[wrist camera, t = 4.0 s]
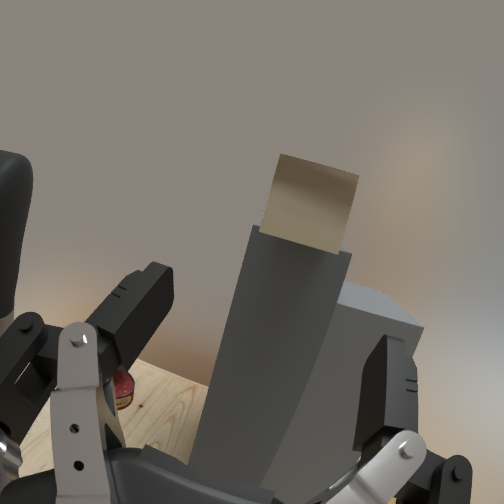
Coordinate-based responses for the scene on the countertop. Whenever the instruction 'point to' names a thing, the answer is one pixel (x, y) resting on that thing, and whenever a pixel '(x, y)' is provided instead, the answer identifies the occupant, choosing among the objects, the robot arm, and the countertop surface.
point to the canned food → (123, 388)
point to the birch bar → (309, 203)
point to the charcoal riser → (292, 370)
